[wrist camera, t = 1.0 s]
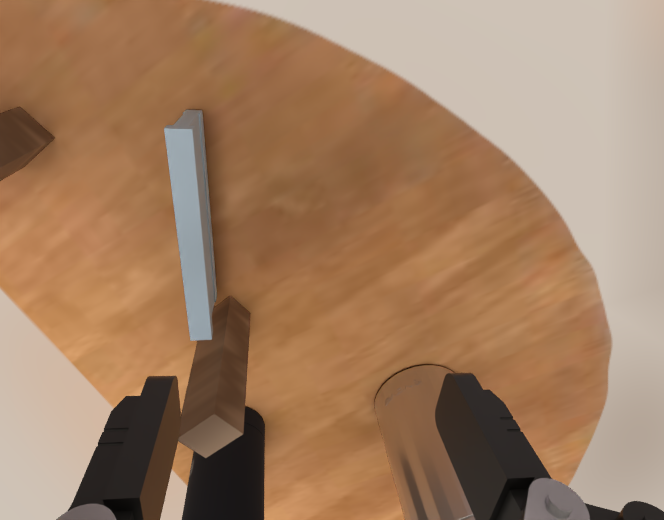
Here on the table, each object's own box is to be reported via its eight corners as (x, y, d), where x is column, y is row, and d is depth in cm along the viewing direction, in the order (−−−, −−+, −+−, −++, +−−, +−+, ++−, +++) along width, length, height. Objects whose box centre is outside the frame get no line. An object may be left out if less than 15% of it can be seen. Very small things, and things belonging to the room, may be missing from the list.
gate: (219, 294, 34) (211, 339, 29) (201, 295, 33) (190, 340, 29) (205, 110, 27) (192, 129, 22) (182, 109, 27) (164, 128, 22)
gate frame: (251, 312, 35) (243, 444, 24) (222, 333, 36) (202, 471, 25) (19, 104, 26) (-168, 166, 15) (-15, 137, 26) (-218, 219, 15)
